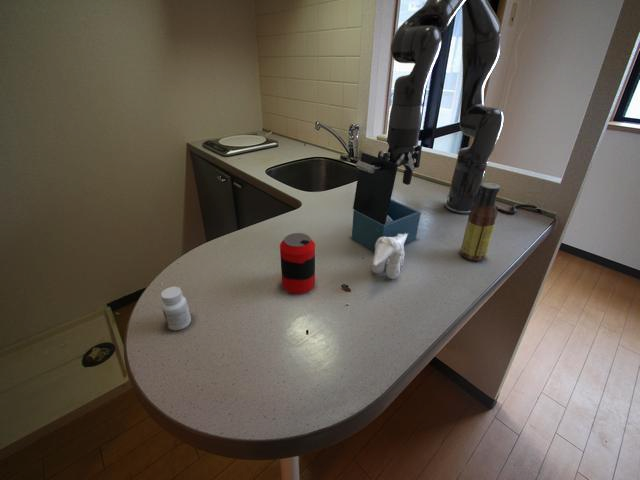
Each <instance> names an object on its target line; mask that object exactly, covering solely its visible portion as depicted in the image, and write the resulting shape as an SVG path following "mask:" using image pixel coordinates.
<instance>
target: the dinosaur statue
mask: <svg viewBox="0 0 640 480" xmlns="http://www.w3.org/2000/svg"><path fill="white" fill-rule="evenodd" d="M407 235H408V234H406V233H404V234H398V235H397V236H395V237H380V238H378V240H377V242H376V244H375V252H374V254H373V255H374V256H373V259H372V260H371V270H372V272H373V273H374V274H376V275H379V274H382V273H383V271H384V270H385V265H386V276H387V277H388V279H391V280H396V279H397V278H398V277H399V276H400V273H401V268H402V267H403V266H404V260H405V255H406V253H405V245H404V242H405V240H406V238H407Z"/></svg>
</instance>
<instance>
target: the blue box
mask: <svg viewBox="0 0 640 480" xmlns="http://www.w3.org/2000/svg"><path fill="white" fill-rule="evenodd" d="M421 214H422V212H421V211H419V210H417V209H414V208H413V207H410V206H408V205H405V204H404V203H401V202H399V201H396V200H394V199H392V198H391V200H390V205H389V210H388V214H387V215H388V216H389V217H390V218H391V219H392V220H393V221H392V222H389V223H387V224H385V225H382V224H381V223H379V222H377V221H375V220H373V219H371V218H369V217H367V216H365V215H363V214H362V213H360V212H358V211H356V210H354V209H353V213H352V228H351V239H353V240H355V241H356V242H357V243H360V244H361V245H363V246H364V247H366V248H367V249H369V250H371V251H373V252H374V253H375V244H376V242H377V240H378V238H380V237H395V236H397V235H398V234H404V233H406V234H408V235H407V238H406V240H405V242H404V246H405V245H406V244H409V243H411V242H413V241H416V240H417V235H418V229H419V225H420V220H421Z"/></svg>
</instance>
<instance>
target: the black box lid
mask: <svg viewBox="0 0 640 480" xmlns="http://www.w3.org/2000/svg"><path fill="white" fill-rule="evenodd" d="M355 168H357V169H358V174H357V180H356V186H355V191H354V192H355V193H354V200H353V204H352V210H353V211H354V210H356V211H358V212H360V213H362V214H363V215H365V216H367V217H369V218H371V219H373V220H375V221H377V222H379V223H381V224H382V225H385V224H386V219H387V214H388V210H389V205H390V200H391V199H392V196H393V191H394V186H395V181H396V178H397V177H396V176H397V173H398V168H399V167H398V164H397V163H394V162H391V161H388V160H385V159H382V158H379V157H378V156H376V155H372V154H369V153H366V152H361V156H360V160H358V161H357V162H356V163H355Z"/></svg>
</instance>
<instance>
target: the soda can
mask: <svg viewBox="0 0 640 480" xmlns="http://www.w3.org/2000/svg"><path fill="white" fill-rule="evenodd" d="M279 253H280V255H279V257H280V271H281V285H282V288H283V289H284V290H285V291H287V293H290V294H294V295H303V294H306V293H308V292H310V291H311V290H313V288H314V287H315V285H316V243H315V241H314V240H313V239H312V238H311V237H310V235H308V234H306V233H304V232H303V233H302V232H294V233H290V234H288V235H286V236H285V237H284V238H283V240H282V241H281V242H280V243H279Z"/></svg>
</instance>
